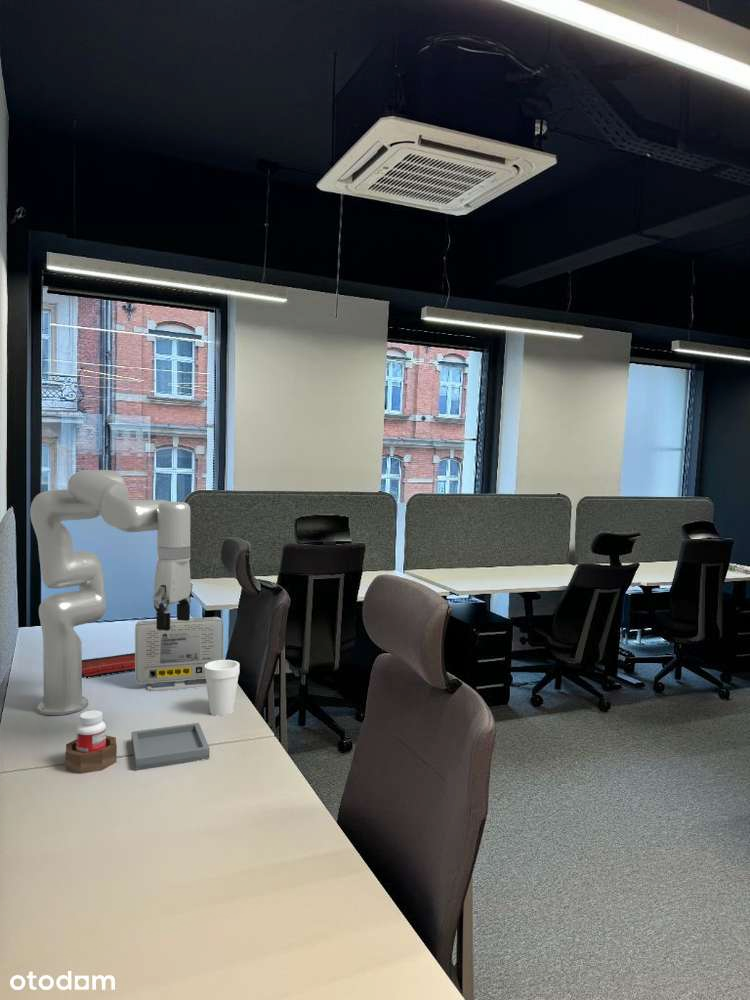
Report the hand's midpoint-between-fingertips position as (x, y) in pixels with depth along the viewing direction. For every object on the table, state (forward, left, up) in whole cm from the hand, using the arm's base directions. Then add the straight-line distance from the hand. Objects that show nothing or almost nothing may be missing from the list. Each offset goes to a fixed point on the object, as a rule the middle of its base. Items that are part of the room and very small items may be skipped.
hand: (173, 624), depth 157 cm
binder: (-68, -11, -30) cm, 75 cm away
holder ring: (+3, -18, -29) cm, 35 cm away
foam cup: (-17, +15, -30) cm, 37 cm away
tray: (+3, -1, -29) cm, 30 cm away
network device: (-43, +7, -30) cm, 53 cm away
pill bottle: (+3, -18, -30) cm, 35 cm away
